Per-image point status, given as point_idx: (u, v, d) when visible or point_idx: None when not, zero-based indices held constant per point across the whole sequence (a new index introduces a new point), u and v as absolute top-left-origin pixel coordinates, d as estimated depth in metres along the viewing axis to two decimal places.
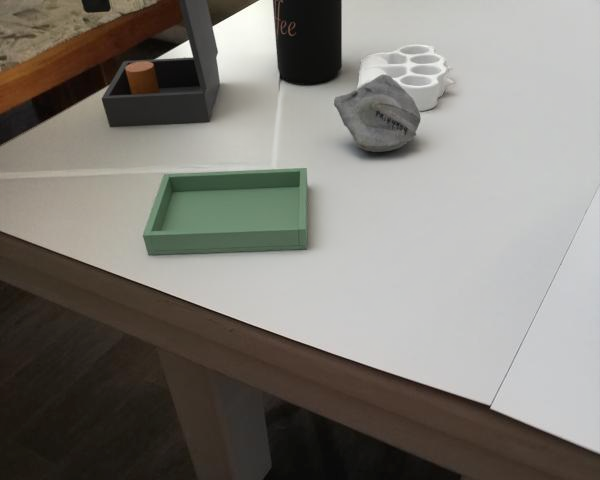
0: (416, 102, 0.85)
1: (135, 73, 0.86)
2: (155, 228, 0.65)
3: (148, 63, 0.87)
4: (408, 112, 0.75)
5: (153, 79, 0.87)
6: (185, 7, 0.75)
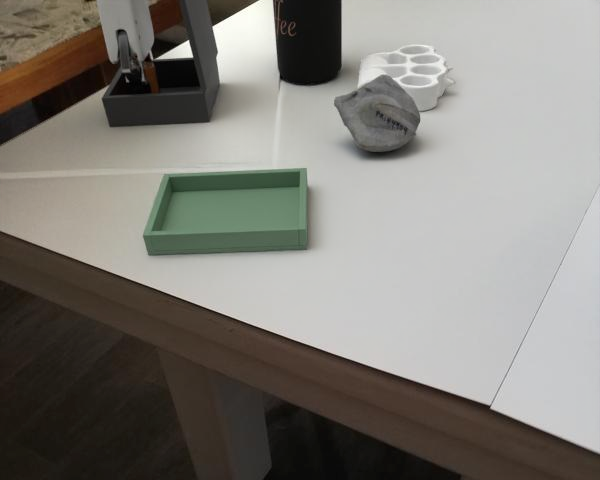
0: (416, 102, 0.85)
1: None
2: (155, 228, 0.65)
3: (148, 63, 0.87)
4: (408, 112, 0.75)
5: (153, 79, 0.87)
6: (185, 7, 0.75)
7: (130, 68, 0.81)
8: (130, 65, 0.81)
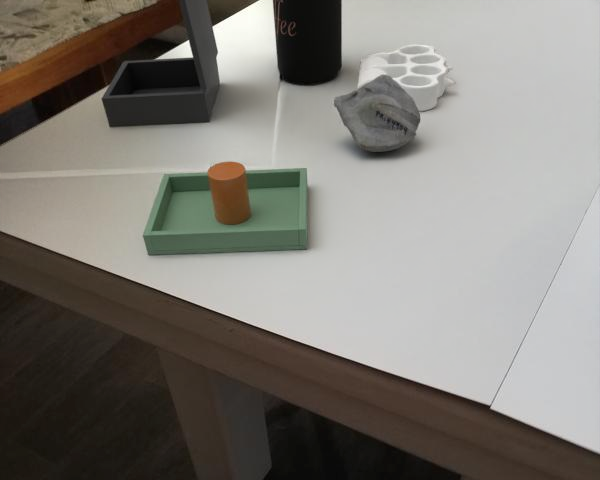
0: (416, 102, 0.85)
1: (222, 182, 0.63)
2: (155, 228, 0.65)
3: (237, 165, 0.65)
4: (408, 112, 0.75)
5: (244, 187, 0.65)
6: (185, 7, 0.75)
7: None
8: None
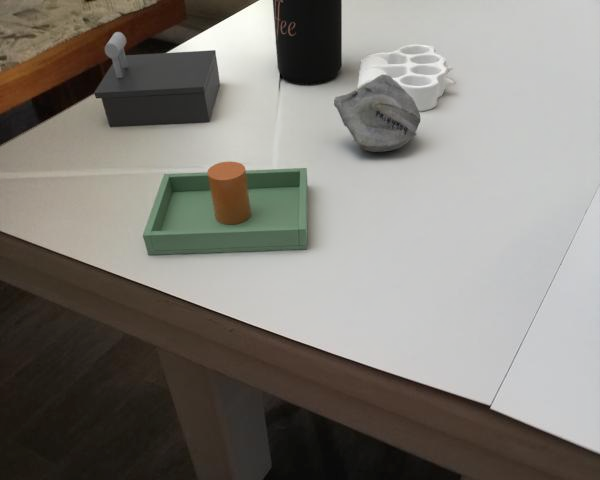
0: (416, 102, 0.85)
1: (222, 182, 0.63)
2: (155, 228, 0.65)
3: (237, 165, 0.65)
4: (408, 112, 0.75)
5: (244, 187, 0.65)
6: (133, 91, 0.82)
7: None
8: None
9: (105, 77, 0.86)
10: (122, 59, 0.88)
